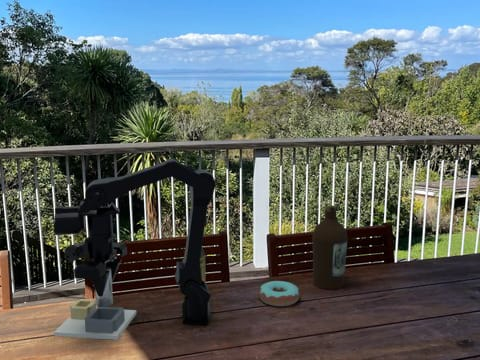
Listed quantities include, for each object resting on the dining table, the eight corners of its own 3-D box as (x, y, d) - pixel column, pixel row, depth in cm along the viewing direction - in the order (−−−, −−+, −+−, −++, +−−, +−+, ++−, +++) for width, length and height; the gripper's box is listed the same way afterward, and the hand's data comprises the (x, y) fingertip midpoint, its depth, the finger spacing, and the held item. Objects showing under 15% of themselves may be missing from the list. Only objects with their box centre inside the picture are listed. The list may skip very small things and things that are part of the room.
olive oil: (304, 283, 147) (306, 206, 143) (324, 275, 155) (326, 201, 150) (332, 293, 140) (335, 212, 136) (352, 284, 147) (355, 206, 143)
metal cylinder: (115, 300, 119) (113, 267, 118) (109, 307, 115) (107, 272, 114) (100, 300, 120) (98, 266, 118) (93, 306, 116) (91, 272, 114)
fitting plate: (136, 313, 127) (135, 299, 126) (117, 339, 113) (116, 324, 112) (80, 310, 129) (79, 296, 128) (54, 336, 115) (53, 320, 114)
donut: (253, 294, 140) (253, 281, 140) (290, 289, 144) (290, 277, 143) (266, 311, 129) (266, 297, 128) (306, 305, 132) (306, 292, 132)
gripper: (85, 221, 124) (89, 277, 127) (49, 242, 106) (54, 307, 109) (126, 222, 123) (129, 278, 126) (96, 244, 105) (100, 309, 107)
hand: (104, 292), depth 117 cm, fingers closed on metal cylinder, 4 cm apart
